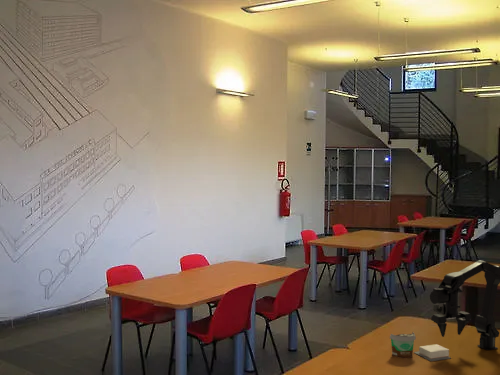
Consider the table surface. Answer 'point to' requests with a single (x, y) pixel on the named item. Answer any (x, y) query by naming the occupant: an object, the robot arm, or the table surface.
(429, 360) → the rubber mat
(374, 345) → the table surface
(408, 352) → the food container
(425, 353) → the glazed tile
